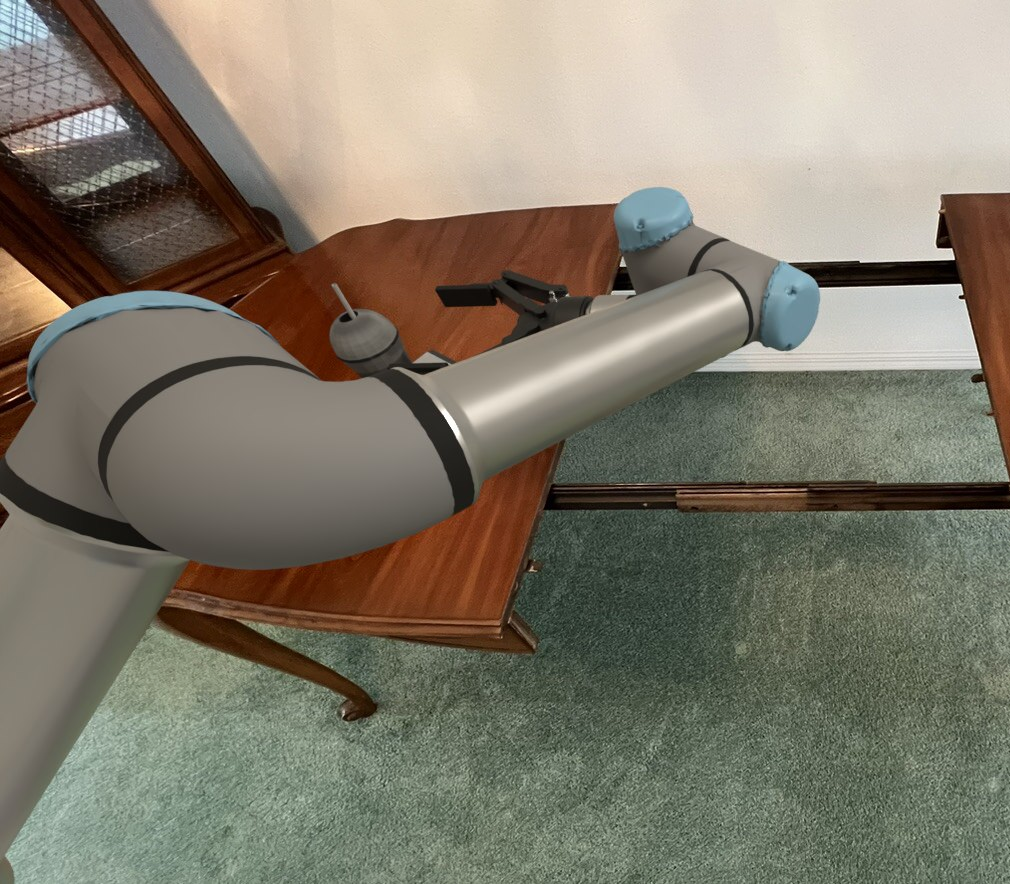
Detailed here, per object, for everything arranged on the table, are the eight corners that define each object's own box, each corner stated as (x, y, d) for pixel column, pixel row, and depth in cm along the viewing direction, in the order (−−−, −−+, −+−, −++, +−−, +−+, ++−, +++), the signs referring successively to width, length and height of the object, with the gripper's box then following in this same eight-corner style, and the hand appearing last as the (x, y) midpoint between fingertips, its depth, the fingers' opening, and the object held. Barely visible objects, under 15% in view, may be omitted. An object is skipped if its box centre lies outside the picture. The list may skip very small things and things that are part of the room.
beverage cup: (404, 385, 92) (314, 263, 76) (453, 388, 91) (371, 265, 75) (376, 425, 87) (274, 303, 72) (427, 429, 86) (334, 306, 71)
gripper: (580, 433, 71) (391, 436, 73) (627, 287, 87) (470, 292, 89) (557, 384, 65) (351, 388, 67) (611, 237, 81) (443, 243, 83)
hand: (418, 333), depth 78 cm, fingers open, 13 cm apart
